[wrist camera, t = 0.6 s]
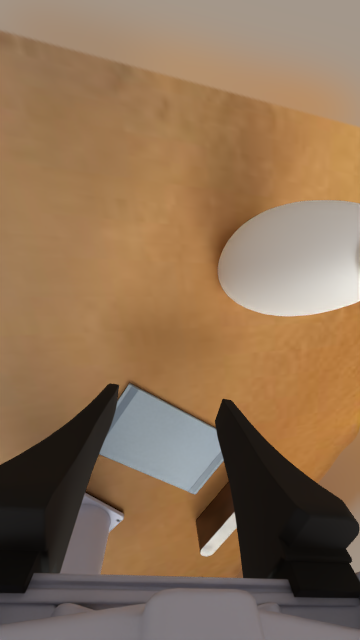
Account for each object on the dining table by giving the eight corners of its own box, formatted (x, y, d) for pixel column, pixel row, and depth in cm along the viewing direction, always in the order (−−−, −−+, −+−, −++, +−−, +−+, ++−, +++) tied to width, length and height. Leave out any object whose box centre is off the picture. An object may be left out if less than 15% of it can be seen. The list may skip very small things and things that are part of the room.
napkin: (195, 492, 28) (195, 494, 28) (86, 446, 25) (85, 448, 24) (238, 439, 27) (239, 441, 27) (129, 382, 23) (129, 384, 23)
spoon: (212, 530, 31) (218, 561, 27) (184, 520, 30) (187, 550, 26) (270, 464, 29) (284, 488, 25) (243, 450, 28) (254, 473, 24)
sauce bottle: (283, 250, 21) (810, 134, 4) (252, 312, 23) (549, 426, 5) (223, 220, 20) (631, -155, 3) (195, 287, 21) (341, 333, 4)
